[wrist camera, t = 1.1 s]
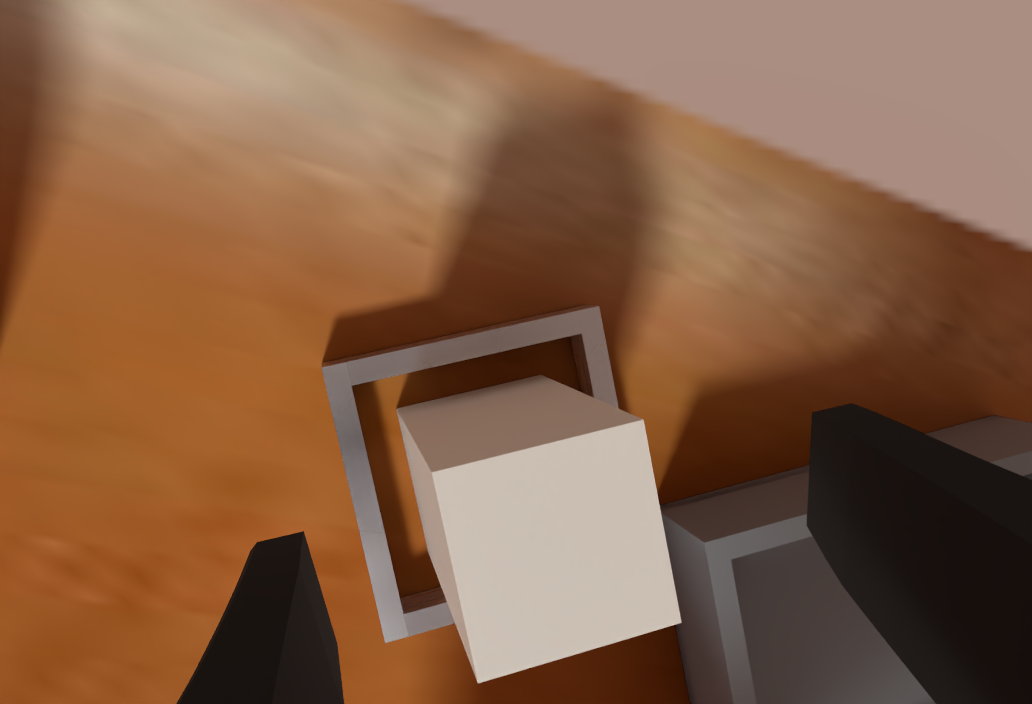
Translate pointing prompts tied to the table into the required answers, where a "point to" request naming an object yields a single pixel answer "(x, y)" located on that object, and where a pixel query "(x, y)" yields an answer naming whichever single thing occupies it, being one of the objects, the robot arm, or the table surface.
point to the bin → (790, 591)
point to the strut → (539, 521)
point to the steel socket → (344, 373)
